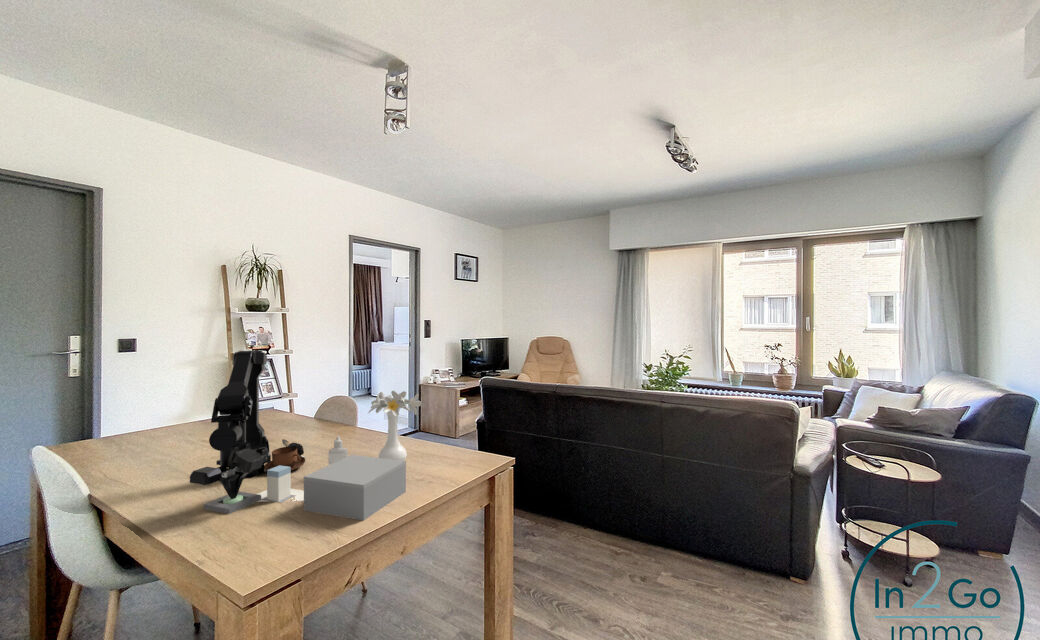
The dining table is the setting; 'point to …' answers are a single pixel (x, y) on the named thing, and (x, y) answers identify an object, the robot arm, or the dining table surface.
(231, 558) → the dining table surface
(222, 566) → the dining table surface
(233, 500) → the button
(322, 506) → the grey rectangular slab
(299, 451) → the eagle figurine
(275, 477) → the white blue upright block
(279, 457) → the cup and saucer
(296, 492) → the paper sheet
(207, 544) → the dining table surface
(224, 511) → the button housing
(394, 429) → the flower vase
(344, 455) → the eye dropper bottle
